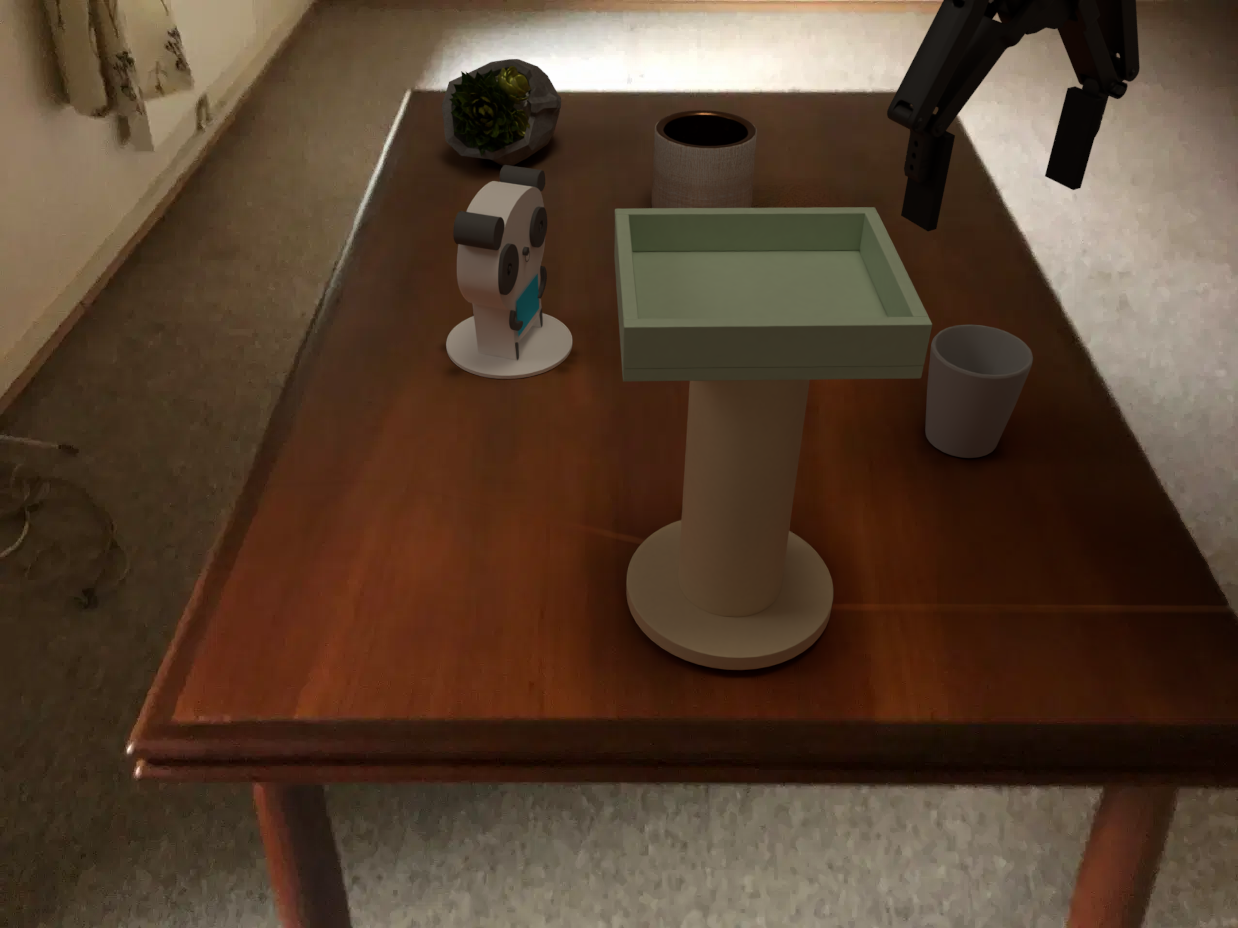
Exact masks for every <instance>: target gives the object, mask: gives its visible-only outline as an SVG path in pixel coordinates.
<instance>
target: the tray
mask: <svg viewBox="0 0 1238 928" xmlns="http://www.w3.org/2000/svg"><path fill="white" fill-rule="evenodd" d="M613 248H614V250H613V251H614V253H613V254H614V257H613V259H614V271H615V272H614V273H615V274H614V275H615V288H616V300H617V315H618V331H619V332H618V333H619V345H620V361H621V373H622V382H689V386H688V387H689V388H688V402H687V403H688V404H687V405H688V406H687V419H686V421H687V422H686V439H685V441H686V442H685V453H684V454H685V455H684V456H685V457H684V470H683V472H684V473H683V474H684V475H683V488H682V504H681V519H679V520H676V521H673V522H671V523H669V524H667V525H665V526H663V527H661V528H659V529H658V530H656V531H655V532H653V533H651V534H650V535H649V536H648V537H647V538H646V539H644V540H643V541H642V543H640V545H639V546H638V547H637V549H636V550H635V552H634V553H633V554H632V557H631V559H630V561H629V564H628V568H627V571H626V588H625V591H626V592H625V593H626V595H625V596H626V600H627V601H626V602H627V606H628V609H629V611H630V614H631V616H632V618H633V619H634V621H635V623H636V624H637V626H638V627H639V628H640V631H642V632H643V633H644V634H645V635H646V637H648V638H649V639H650V640H651V641H652V642H653V643H654V644H656V646H658V647H660V648H661V649H663V650H664V651H666V652H668V653H669V654H671V655H673V656H675V657H677V658H679V659H682V660H683V661H685V662H690V663H692V664H695V665H699V666H703V667H707V668H712V669H717V670H718V669H719V670H727V671H729V670H730V671H745V670H757V669H763V668H769V667H772V666H775V665H779V664H782V663H784V662H787V661H789V660H792V659H794V658H795V657H797V656H799V655H800V654H802V653H804V652H805V651H807V650H808V649H809V648H810V647H812V646H813V645H814V644H815V643H816V641H818V639H819V638H820V637H821V636H822V635H823V633H824V631H825V630H826V628H827V625H828V623H829V621H830V618H831V613H832V607H833V602H834V583H833V578H832V576H831V573H830V571H829V570H830V569H829V568H828V567H827V564H826V563H825V561H824V560H823V558H822V557H821V555H820V554H819V553H818V552H817V551H816V550H815V548H813V547H812V545H810V544H809V543H808V542H807V541H806V540H804V539H803V538H802V537H800V536H799V535H797V534H796V533H793V531H792V530H791V531H790V527H791V519H792V512H793V505H794V498H795V491H796V483H797V476H798V468H799V463H800V456H801V455H800V454H801V447H802V440H803V433H804V426H805V418H806V411H807V403H808V397H809V388H810V382H811V380H812V381H813V380H815V381H816V380H896V379H899V380H901V379H902V380H904V379H905V380H907V379H909V380H911V379H922V376H923V371H924V365H925V362H926V357H927V352H928V347H929V343H930V338H931V333H932V328H933V323H932V320H931V318H930V317H929V315H928V312H927V310H926V308H925V306H924V304H923V302H922V301H921V298H920V296H919V294H918V292H917V290H916V287H915V286H914V284H913V282H912V279H911V278H910V275H909V274H908V271H907V269H906V267H905V265H904V263H903V260H901V257H900V255H899V253H898V251H897V248H896V247H895V245H894V243H893V241H892V239H891V237H890V235H889V232H888V231H887V229H886V227H885V224H884V222H883V221H882V218H881V216H880V214H879V213H878V211H877V209H876V207H875V206H873V207H872V206H871V207H870V206H867V207H865V206H863V207H862V206H861V207H860V206H859V207H858V206H854V207H853V206H850V207H848V206H847V207H844V206H843V207H837V206H836V207H835V206H834V207H751V208H652V207H651V208H650V207H649V208H646V207H645V208H644V207H643V208H642V207H640V208H639V207H635V208H632V207H631V208H630V207H629V208H626V207H625V208H615V209H614V247H613Z"/></svg>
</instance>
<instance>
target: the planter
mask: <svg viewBox="0 0 1238 928" xmlns="http://www.w3.org/2000/svg"><path fill="white" fill-rule="evenodd" d="M757 137H758V129H757V127H756V126H755V125H754V123H752V122H751V121H750V120H748V119H746V118H745V117H742V116H740V115H737V114H734V113H730V112H725V111H719V110H710V109H708V110H707V109H694V110H693V109H692V110H685V111H679V112H674V113H671V114H668V115H666V116H663V117H662V118H661V119H660V120H658V121H657V122H656V123H655V125H654V141H653V142H654V143H653V161H652V163H653V165H652V181H651V201H650V202H651V208H752V206H753V192H754V191H753V190H754V176H755V163H756V151H757V150H756V149H757Z"/></svg>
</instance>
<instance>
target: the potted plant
mask: <svg viewBox="0 0 1238 928" xmlns="http://www.w3.org/2000/svg"><path fill="white" fill-rule="evenodd" d="M460 73H461V75H460V76H459V77H456V78H454V79H452V80H450V81H448V83H447V88H446V90H445V94H444V97H443V100H442V104H441V112H442V120H443V130H444V140H445V142H446V143H447V145H449V146H450V147H451V148H453V150H454V151H456V153H457V154H458V155H460V156H461V157H468V158H474V159H475V158H476V159H485V160H490V161H492V162H494V163H495V164H498V165H500V166H502V167H503V166H504V165H510V166H515V165H517V164H519V163H521V162H522V161H524V160H526V159H528V158H529V157H531V156H532V155H534V154H535V153H537V152H538V151H540V150H542V149H543V148H545V146H547V145H548V144H549V143H550V140H551V139H552V137H553V136H554V134H555V131H556V127H557V123H558V120H559V116H560V112H561V108H562V97H561V96H560V95H559V93H558V91H557V90H556V87H555V86H554V84H553V82H552V81H551V79H550V77H549V75H548V74H547V73H546V72H544V70H542V68H540V67H539V66H538V65H536V64H533V63H530V62H527V61H525V60H522V59H519V58H509V59H508V58H507V59H502V60H495V61H490V62H488V63H486V64H484V65H481V66H480V67H477V68H476V69H473V70H470V71H469V72H467V71H465V72H464V71H460Z"/></svg>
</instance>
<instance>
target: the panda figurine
mask: <svg viewBox="0 0 1238 928" xmlns="http://www.w3.org/2000/svg"><path fill="white" fill-rule="evenodd" d="M545 187H546V173H545V171H544V170H543V169H536V168H530V167H523V166H515V165H513V166H510V165H504V166H502V167H501V169H500V171H499V181H497V180H492V181H489V182H488V183H486V184H485V185H483V187H482V188H480V189H479V190H478V192H477V193H476V194H475V196H474V197H473V198H472V200H471V201H470V203H469V205H468V207H467V209H466V210H465V211H464V210H459V211H458V212H457V213H456V216H455V219H454V222H453V228H452V229H453V233H452V236H453V241H454V243H455V244H456V245H457V254H456V281H457V286H458V287H457V288H458V289H459V292H460V295H462V298H463V299H464V300H465V301H467V303H470V304H471V305H472V312H473V315H472V316H470V317H468V318H466V319H463V320H462V321H461V322H459V323H458V324H456V325H455V326H454V327H453V328H452V329H451V331H449V334H448V335H447V338H446V341H445V347H446V353H447V356H448V357H449V359H450V360H451V361H452V363H453V364H454V365H456V366H457V367H458V368H460V369H461V370H464V371H465V372H468V373H470V374H472V375H475V376H479V377H484V378H489V379H496V380H497V379H498V380H514V379H515V380H516V379H523V378H530V377H534V376H537V375H540V374H544V373H546V372H548V371H551V370H553V369H554V368H556V367H558V366H559V365H561V364H562V363H563V362H564V361H566V359H567V358H568V357H569V355H570V354H571V352H572V349H573V335H572V333H571V331H570V328H569V327H567V325H565V324H564V323H563V322H562V321H561V320H559V319H558V318H556V317H554V316H552V315H549V314H546V313H544V312H543V307H542V297H543V295H544V292H545V289H546V285H547V279H548V271H547V268H546V266H545V265H542V263H543V257H544V252H545V246H546V237H547V233H548V214H547V210H546V208H545V203H544V199H543V195H542V192H543V191H544V189H545Z"/></svg>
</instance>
